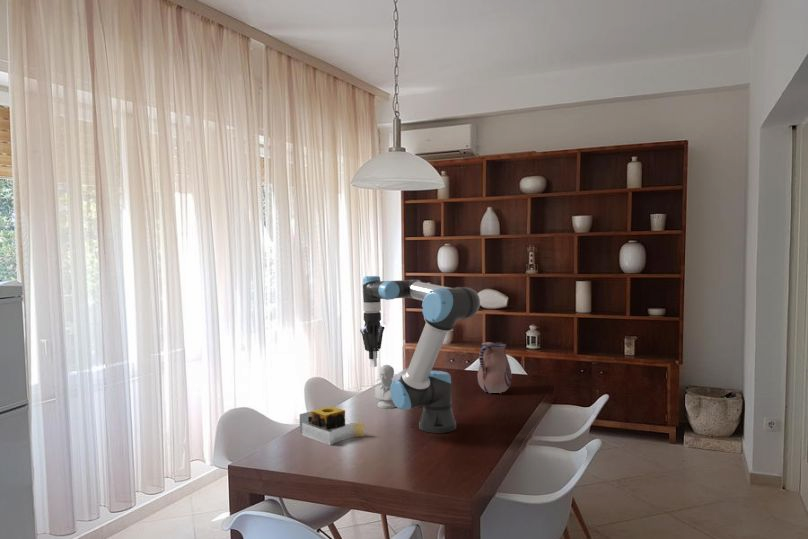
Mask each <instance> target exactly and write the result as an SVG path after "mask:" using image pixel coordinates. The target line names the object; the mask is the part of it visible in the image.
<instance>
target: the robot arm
mask: <svg viewBox="0 0 808 539" xmlns="http://www.w3.org/2000/svg"><path fill="white" fill-rule="evenodd" d="M404 298H405V299H407V298H408V299H414V300H418V301H421V302H422V304H421V307H422V309H421V312H422V315H423V319H424V321H425V324H424V327H423V330H422V332H421V335H420V337H419V340H418V342H417V345H416V346H415V350H414V352H413V355H412V357H411V360H410V362H409V365H408V368H406V369H404V370H403V371H402V373H401V376H400V378H399V379H395V380H392V384H391V387H390V393H391V397H392V400H393V402H394V404H395V405H396V407H395V408H397V409H399V410H401V411H406V410H408V411H409V410H411V409H416V408H420V407H422V412H421V415H420V420H419V422H418V428H419V430H421V431H422V432H427V433H430V434H431V433H432V434H444V433H450V432H453V431H455V430H456V429H457V420H456V418H455V416H454V412H453V408H452V376H451V374H450V373H449V372H446V371H442V370H433V367H434V364H435V363H436V361H437V358H438V356H439V353H440V351H441V348H442V346H443V344H444V341H445V339H446V337H447V334H448V332H451V331H453V330H454V328H455V326H456V322H457V321H458V320H463V319H465V320H466V319H470V318H472V317H473V316H475V315H476V314H477V313H478V311H479V309H480V306H481V298H480V296H479V294H478V292H476V291H475V289H472V288H470V287H466V286H465V287H463V286H457V287H449V286H442V285H440V284H439V285H438V284H433V283H427V282H422V281H421V280H420V279H404V280H381V277H380V276H378V275H372V276H371V275H367V276H364V277H363V278H362V300H363V302H362V303H363V304H362V305H363V321H364V326H363V328H360V330H359V331H360V334H361V336H362V340H363V345H364V346H363V347H364V350H365V351H367V352H368V359H369V366H370V367H372V368H377V367H378V362H377V361H378V360H377V359H378V352H379V351H380V350H381V348H382V344H383V343H382V342H383V334H384V330H385V326H382V324H381V322H380V321H381V320H382V313H381V311H382V304H381V302H382V301H381V300H386V301H388V300H395V299H404Z"/></svg>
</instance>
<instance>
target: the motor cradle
mask: <svg viewBox="0 0 808 539" xmlns="http://www.w3.org/2000/svg"><path fill="white" fill-rule="evenodd" d="M299 432H301V434H302V436H303V437H305V438H309V439H311V440H314V441H317V442H318V443H319V442H320V443H322V444H325V445H328V446H332V445H334V443H335V444H336V443H339V442H341V440H342V441H344V439H345V440H347V439H348V440H349V439H350V438H355V437H364V436H365V427H364V422H350V423H347V424H346V423H345V425H343V426H340V427H336V428H333V429H329V430H328V429H325V428H322V427H319V426H316V425H313V424H312V423H311V411H308V412H304V413H300V414H299Z"/></svg>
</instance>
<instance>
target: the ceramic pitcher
mask: <svg viewBox="0 0 808 539" xmlns="http://www.w3.org/2000/svg"><path fill="white" fill-rule="evenodd" d="M481 346H482V347H481V348H480V349H479V354H478V360H479V366H478V369H477V376H476V377H477V382H478V385H479V386H480V388H481V389H482V390H483V391H484V392H485V393H486V392H488V394H491V393H499V394H503V393H505V392H506V391H507V390H508V389H509V388H510V386H511V384H512V380H513V373H512V369H511V364H510V362H509V359H508V356H507V353H506V347H507V344H506V343H503V342H500V341H499V342H498V341H496V342H493V341H492V342H490V341H486V342H483V343H481ZM502 392H503V393H502Z"/></svg>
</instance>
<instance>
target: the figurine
mask: <svg viewBox="0 0 808 539" xmlns="http://www.w3.org/2000/svg"><path fill="white" fill-rule="evenodd" d="M394 375H395V370H394V367H393V366H391V365H390V364H385V365H382V366H380V369H379V379H380V382H381V384H379V385H377V386H375V388H374V398H375V399H377V400H379V402H378V403H377V405H376V406H377V408H380V409H394V408H397V407H396V405H395V404H394V402H393V400H392V397H391V393H390V387H391V384H392V382H393V378H394Z"/></svg>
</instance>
